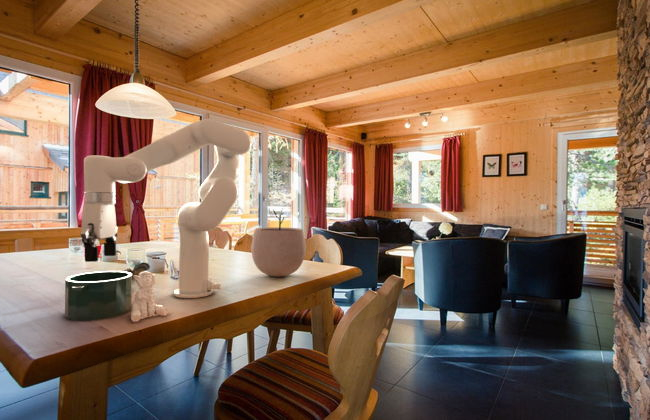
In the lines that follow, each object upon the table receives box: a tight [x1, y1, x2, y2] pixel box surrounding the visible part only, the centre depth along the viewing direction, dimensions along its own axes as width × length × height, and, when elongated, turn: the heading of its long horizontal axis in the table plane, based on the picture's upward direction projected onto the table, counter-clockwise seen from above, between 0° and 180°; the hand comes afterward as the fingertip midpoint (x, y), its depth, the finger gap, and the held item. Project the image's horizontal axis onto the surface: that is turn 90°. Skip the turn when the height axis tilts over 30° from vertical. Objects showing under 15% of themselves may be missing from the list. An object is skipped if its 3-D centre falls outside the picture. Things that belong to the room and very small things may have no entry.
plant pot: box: [251, 208, 307, 278], centre depth 155 cm, size 24×24×30 cm
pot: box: [64, 270, 133, 321], centre depth 99 cm, size 16×21×10 cm
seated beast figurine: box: [130, 271, 169, 323], centre depth 96 cm, size 10×9×12 cm
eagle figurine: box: [123, 262, 151, 281], centre depth 141 cm, size 8×7×9 cm
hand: (101, 258), depth 101 cm, fingers open, 9 cm apart
